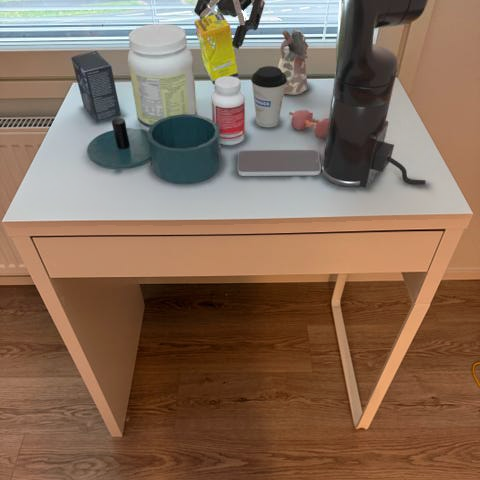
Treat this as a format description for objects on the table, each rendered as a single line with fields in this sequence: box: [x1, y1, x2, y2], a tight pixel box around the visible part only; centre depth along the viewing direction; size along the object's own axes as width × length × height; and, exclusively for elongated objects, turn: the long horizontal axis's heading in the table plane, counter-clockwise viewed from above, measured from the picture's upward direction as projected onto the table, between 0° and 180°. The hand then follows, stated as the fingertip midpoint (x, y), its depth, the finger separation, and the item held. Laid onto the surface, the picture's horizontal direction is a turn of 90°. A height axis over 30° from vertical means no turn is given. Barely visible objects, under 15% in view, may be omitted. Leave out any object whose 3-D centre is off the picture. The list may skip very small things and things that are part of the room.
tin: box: [147, 114, 222, 185], centre depth 89 cm, size 13×13×6 cm
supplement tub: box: [127, 23, 198, 131], centre depth 95 cm, size 12×12×17 cm
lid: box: [86, 117, 151, 169], centre depth 92 cm, size 14×14×6 cm
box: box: [70, 50, 122, 123], centre depth 101 cm, size 8×6×11 cm
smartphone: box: [237, 149, 322, 177], centre depth 90 cm, size 7×1×15 cm
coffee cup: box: [250, 65, 287, 128], centre depth 97 cm, size 7×7×10 cm
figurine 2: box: [288, 109, 329, 139], centre depth 98 cm, size 12×3×7 cm
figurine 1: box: [277, 28, 309, 96], centre depth 107 cm, size 7×7×12 cm
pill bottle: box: [211, 76, 246, 146], centre depth 93 cm, size 6×6×11 cm
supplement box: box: [194, 12, 239, 86], centre depth 103 cm, size 6×6×11 cm
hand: (217, 43), depth 102 cm, fingers closed on supplement box, 8 cm apart
